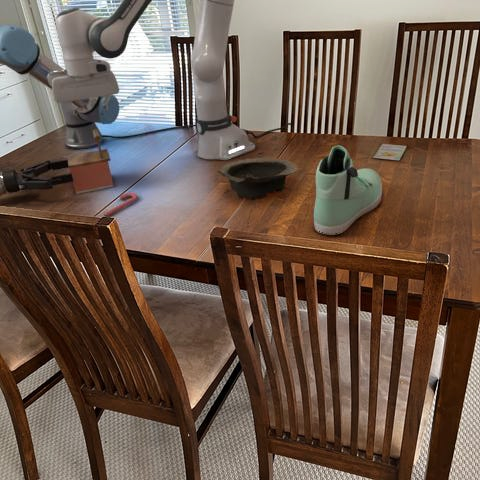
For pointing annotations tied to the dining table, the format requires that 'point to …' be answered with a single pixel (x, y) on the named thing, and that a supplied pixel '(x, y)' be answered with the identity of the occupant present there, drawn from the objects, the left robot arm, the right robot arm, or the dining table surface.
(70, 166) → the lid
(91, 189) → the chest
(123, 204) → the candy cane
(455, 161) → the dining table surface
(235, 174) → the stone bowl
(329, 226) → the sneaker
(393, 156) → the baking ingredient package
